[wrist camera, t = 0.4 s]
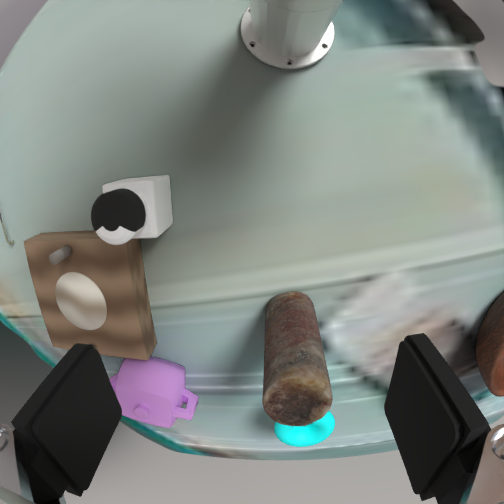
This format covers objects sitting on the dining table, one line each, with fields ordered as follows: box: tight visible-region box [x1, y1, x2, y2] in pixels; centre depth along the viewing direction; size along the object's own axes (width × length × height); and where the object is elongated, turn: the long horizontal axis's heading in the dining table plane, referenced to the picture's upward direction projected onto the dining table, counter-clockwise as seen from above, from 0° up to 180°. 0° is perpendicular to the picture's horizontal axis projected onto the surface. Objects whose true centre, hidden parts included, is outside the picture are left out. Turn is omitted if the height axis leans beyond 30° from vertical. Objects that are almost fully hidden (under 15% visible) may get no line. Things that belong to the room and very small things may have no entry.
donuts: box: [274, 411, 335, 447], centre depth 47 cm, size 10×10×10 cm
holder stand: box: [24, 230, 157, 360], centre depth 42 cm, size 20×20×9 cm
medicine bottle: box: [91, 175, 173, 245], centre depth 36 cm, size 7×7×12 cm
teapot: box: [109, 356, 199, 428], centre depth 47 cm, size 18×10×10 cm, turn 80°
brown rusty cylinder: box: [263, 291, 333, 426], centre depth 37 cm, size 8×7×20 cm
